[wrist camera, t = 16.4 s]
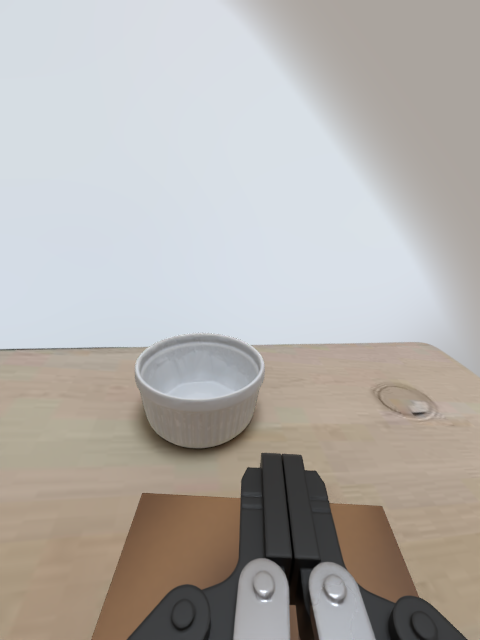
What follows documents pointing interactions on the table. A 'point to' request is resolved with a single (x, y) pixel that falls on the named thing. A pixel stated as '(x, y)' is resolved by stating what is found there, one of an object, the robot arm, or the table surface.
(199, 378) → the ramekin
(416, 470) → the table surface
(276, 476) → the robot arm
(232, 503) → the carton
